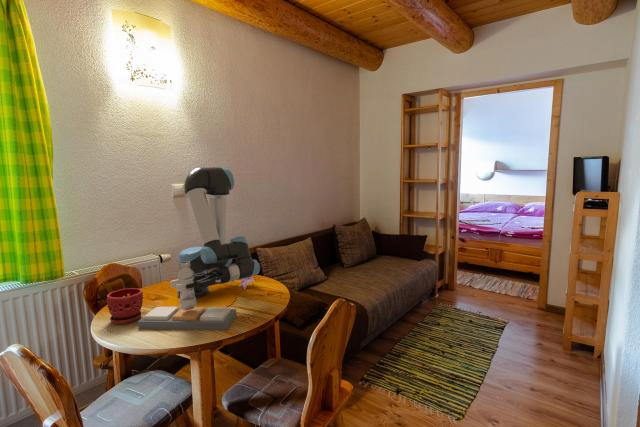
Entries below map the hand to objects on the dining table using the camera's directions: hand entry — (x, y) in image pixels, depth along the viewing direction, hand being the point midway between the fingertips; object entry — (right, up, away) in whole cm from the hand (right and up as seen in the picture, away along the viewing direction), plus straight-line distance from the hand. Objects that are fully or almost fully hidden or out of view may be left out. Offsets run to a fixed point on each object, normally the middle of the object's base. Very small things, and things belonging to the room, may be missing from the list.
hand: (173, 286), depth 133 cm
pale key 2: (+15, -14, +5) cm, 21 cm away
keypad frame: (+4, -16, +6) cm, 18 cm away
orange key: (+4, -14, +5) cm, 15 cm away
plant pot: (-24, -16, +9) cm, 30 cm away
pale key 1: (-8, -14, +6) cm, 17 cm away
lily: (+19, -11, +48) cm, 53 cm away
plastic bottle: (+4, -11, +5) cm, 12 cm away
